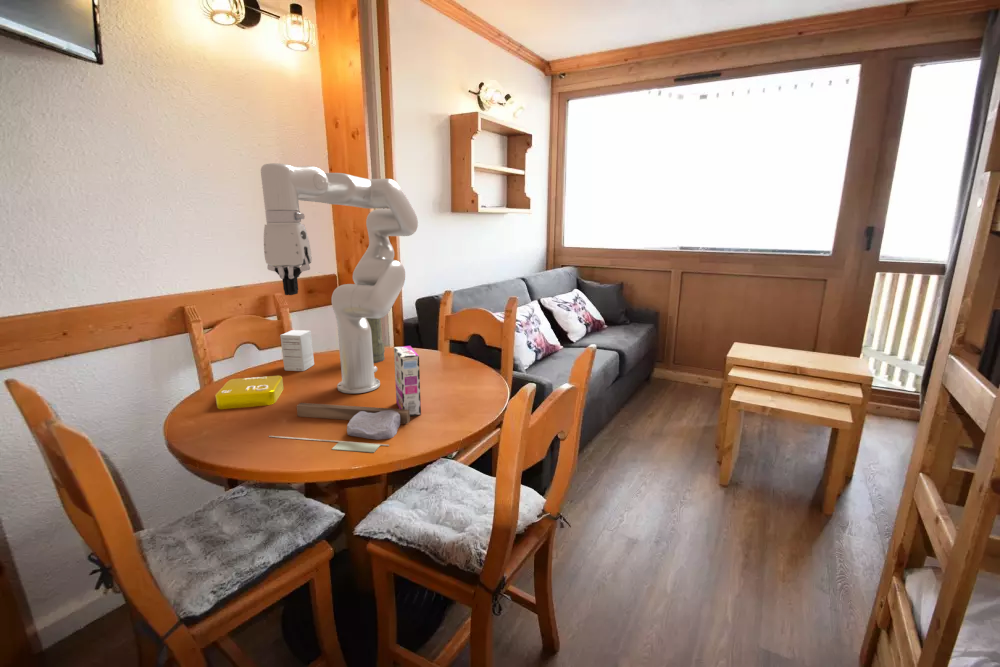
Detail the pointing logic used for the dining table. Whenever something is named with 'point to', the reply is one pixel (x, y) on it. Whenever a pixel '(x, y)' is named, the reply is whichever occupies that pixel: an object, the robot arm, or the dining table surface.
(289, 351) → the supplement box
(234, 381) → the element tile
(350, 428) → the stone block
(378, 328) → the thermos
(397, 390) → the candy bar box
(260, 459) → the dining table surface
